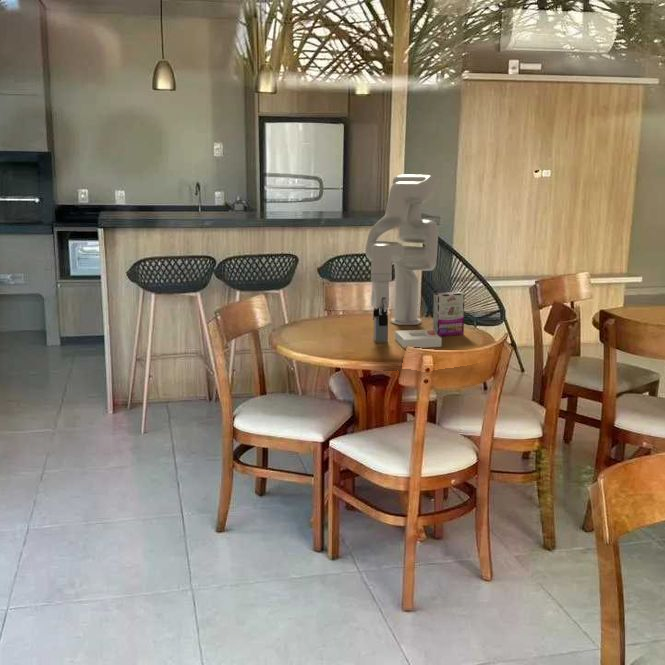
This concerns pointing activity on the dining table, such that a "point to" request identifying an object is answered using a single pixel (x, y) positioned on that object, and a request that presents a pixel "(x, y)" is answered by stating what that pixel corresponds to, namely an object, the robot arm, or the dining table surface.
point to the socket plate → (418, 338)
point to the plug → (380, 331)
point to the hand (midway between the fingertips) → (380, 323)
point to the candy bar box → (448, 313)
